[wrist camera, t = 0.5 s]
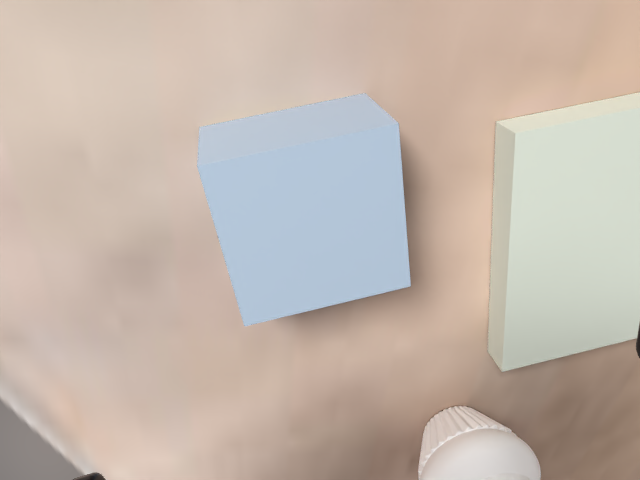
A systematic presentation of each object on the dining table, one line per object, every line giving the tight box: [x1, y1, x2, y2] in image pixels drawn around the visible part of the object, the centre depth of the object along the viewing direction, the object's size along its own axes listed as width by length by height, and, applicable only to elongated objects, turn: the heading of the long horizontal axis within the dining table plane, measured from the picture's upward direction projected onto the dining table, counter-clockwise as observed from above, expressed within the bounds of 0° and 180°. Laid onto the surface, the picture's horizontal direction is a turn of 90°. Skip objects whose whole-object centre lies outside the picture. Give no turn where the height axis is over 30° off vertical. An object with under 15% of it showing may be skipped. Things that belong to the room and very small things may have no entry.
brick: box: [197, 93, 411, 326], centre depth 18 cm, size 6×6×4 cm
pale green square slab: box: [488, 92, 640, 372], centre depth 23 cm, size 12×12×2 cm
